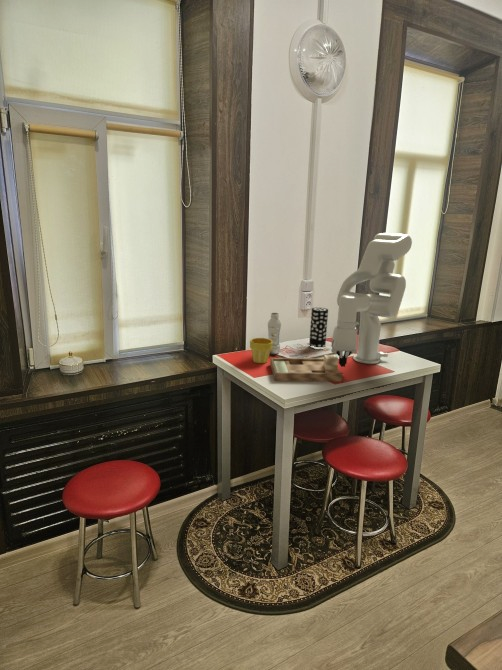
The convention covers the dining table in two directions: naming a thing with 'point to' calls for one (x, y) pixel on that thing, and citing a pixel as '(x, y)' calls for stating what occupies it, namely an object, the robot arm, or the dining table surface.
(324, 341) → the spotted tube
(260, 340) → the plant pot
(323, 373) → the box
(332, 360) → the block
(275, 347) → the plastic bottle
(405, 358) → the dining table surface
